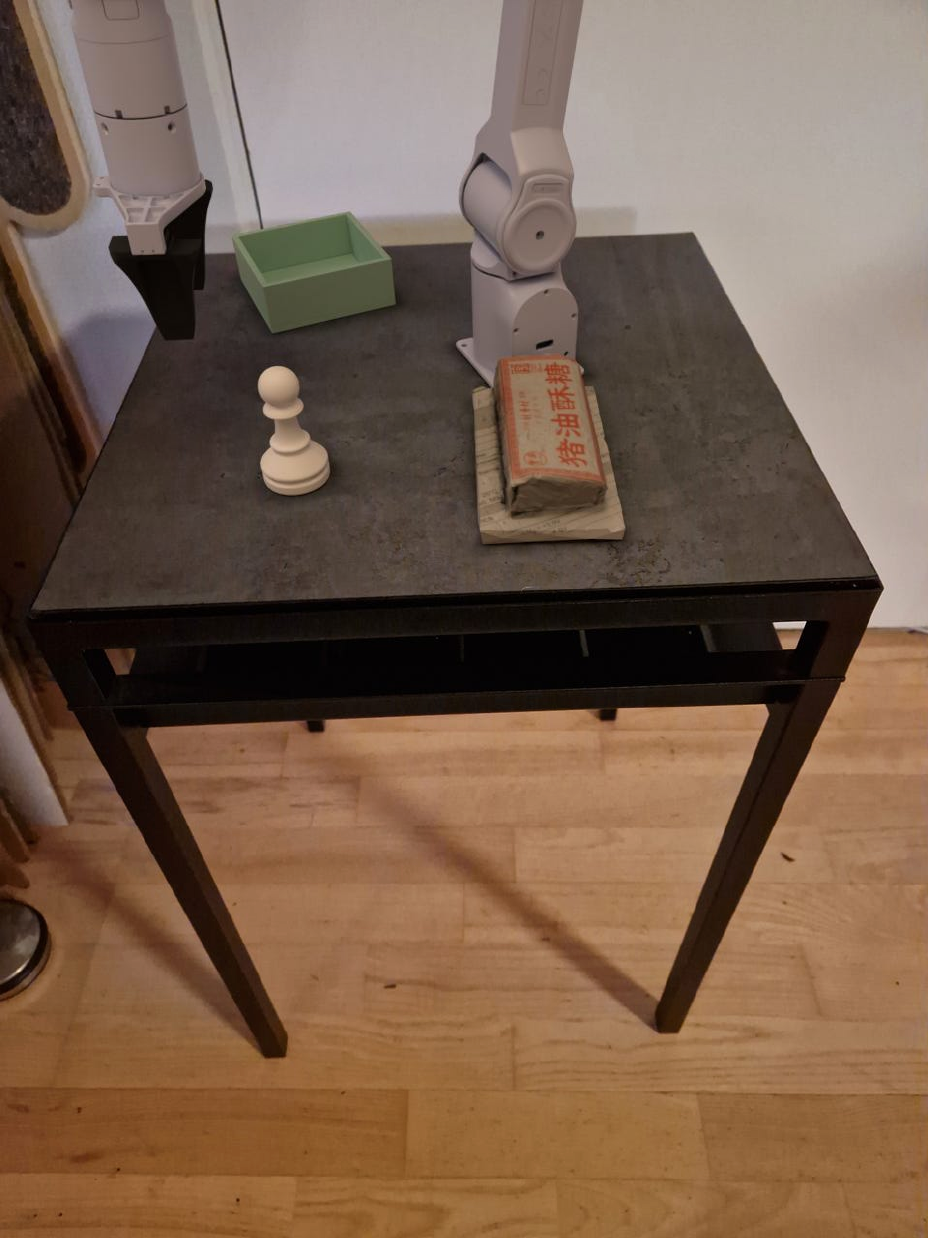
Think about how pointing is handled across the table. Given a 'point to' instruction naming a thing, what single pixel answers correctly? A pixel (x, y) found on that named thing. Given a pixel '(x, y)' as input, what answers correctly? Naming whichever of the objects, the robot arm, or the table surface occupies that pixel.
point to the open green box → (314, 271)
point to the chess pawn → (289, 438)
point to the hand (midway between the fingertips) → (185, 312)
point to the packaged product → (542, 455)
